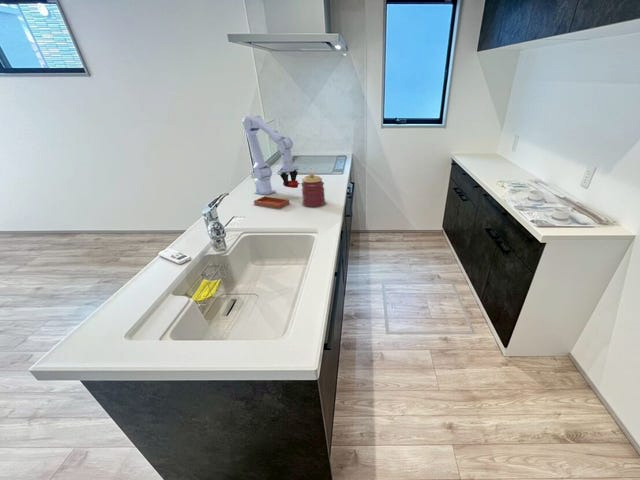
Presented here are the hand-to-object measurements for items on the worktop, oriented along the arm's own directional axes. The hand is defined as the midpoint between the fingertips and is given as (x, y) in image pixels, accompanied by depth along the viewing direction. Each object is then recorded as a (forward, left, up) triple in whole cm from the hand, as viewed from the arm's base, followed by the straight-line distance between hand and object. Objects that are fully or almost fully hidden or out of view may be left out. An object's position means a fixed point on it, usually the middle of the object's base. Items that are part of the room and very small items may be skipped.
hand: (290, 184), depth 187 cm
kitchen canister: (+18, -3, -9) cm, 20 cm away
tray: (-4, -14, -8) cm, 17 cm away
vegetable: (0, 0, -2) cm, 2 cm away
